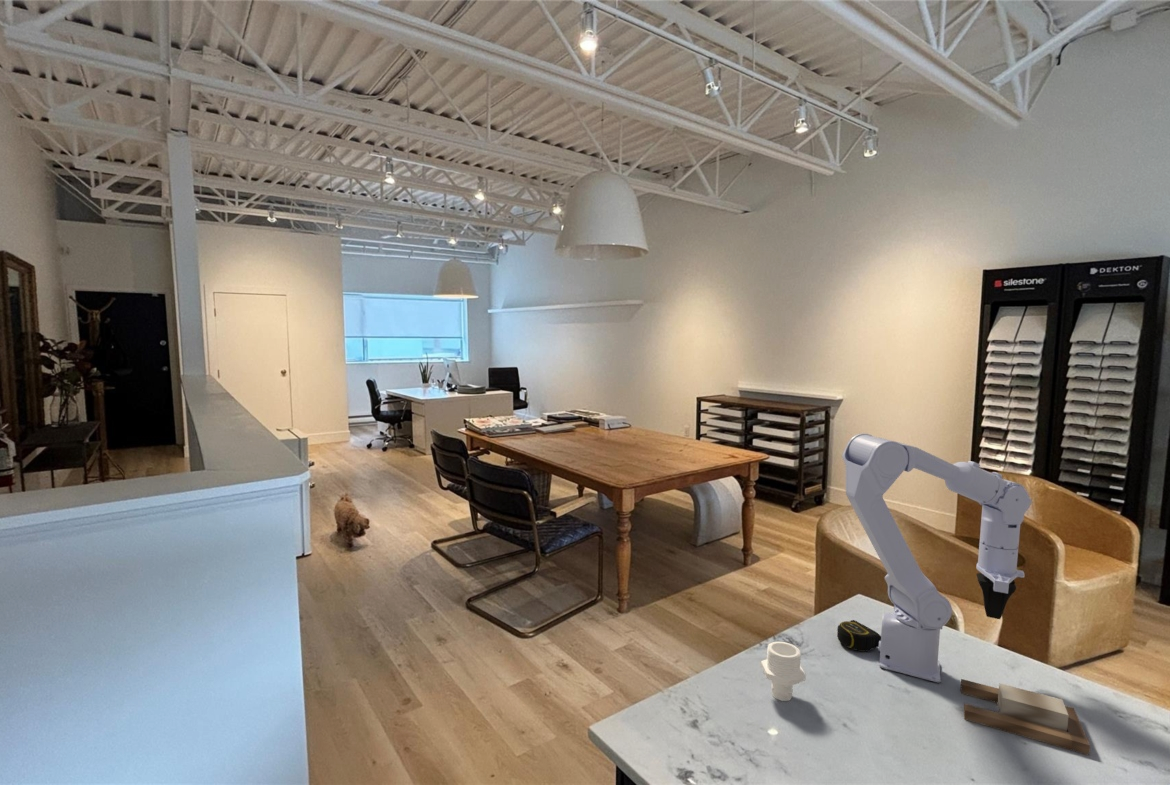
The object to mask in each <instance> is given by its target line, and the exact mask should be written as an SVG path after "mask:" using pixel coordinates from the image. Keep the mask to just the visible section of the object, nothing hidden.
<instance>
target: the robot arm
mask: <svg viewBox="0 0 1170 785" xmlns="http://www.w3.org/2000/svg"><path fill="white" fill-rule="evenodd" d="M841 458H842V460H843V463H844V465H845V495H846V497H847V499H848V501H849V503H850V505H851V507H852V509H853V511H854V512H855V514H856V516H857V518H858V520H859V522H860V523H861V527H862V528H863V530H864V532H865V534H866V536H867V537H868V539H869V541H870V543H871V545H872V547H873V549H874V550H875V552H876V554H877V556H878V558H879V560H880V561H881V563H882V566H883V567H884V569H885V572H886V575H885V576H884V581H885V583H886V584H887V595H888V598H889V600H890V602H891V603H892V604H893V612H886V611H884V612H882V621H881V633H880V636H881V641H879V647H878V652H880V653H879V665H878V666H879V667H880V668H882V669H884V670H889V671H893V672H897V673H900V674H905V675H908V676H911V677H915V678H919V679H923V680H926V681H931V682H934V683H938V684H939V683H941V670H940V668H941V667H940V660H939V648H940V647H939V646H940V634H941V630H943V627H944V626H945V625H947V623H949V620H950V619H951V616H952V614H953V612H952V611H953V610H952V609H953V608H952V604H951V602H950V600H948V598H946V596H944V595H942V594H941V593H940V592H939V591H938V589H937V587H936V586H935V584H934V583H933V581H931V580H930V579H929V578H928V577H927V576H926V575H925V574H924V573H923V571H922V570H921V568H920V567H919V564H918V562H917V561H916V558H915V556H914V555H913V553H912V551H911V550H910V547H909V545H908V543H907V541H906V539H905V538H904V536H903V534H902V532H901V530H900V528H899V526H898V524H897V522H896V520H895V519H894V517H893V514H892V513H891V511H890V509H889V507H888V505H887V503H886V501H885V498H883V496H884V495H885V493H886V492H888V490H889V489H890V488H891V487H892V486H893V484H894V483H895V482H896V481H897V479H898V478H899V477H900V476H901V475H902V474H903V473H904V472H906V473H909V472H911V471H912V470H913V469H916V470H917V471H921V472H924V473H926V474H929V475H932V476H934V477H936V478H939V479H942V480H944V483H945V486H946V487H947V489H948V490H949V491H951V492H953V493H956V494H958V495H960V496H963V497H965V498H967V499H970V500H972V501H974V502H976V503H978V504H979V505H980V506H981V507H982V508H981V517H980V519H981V521H980V529H979V530H980V533H979V534H980V535H979V543H978V546H979V547H978V558H977V563H976V565H975V566H976V567H975V568H976V570H977V571H978V573H976V578H977V582H978V584H979V586H980V588H981V590H982V598H983V599H982V600H983V606H984V607H983V608H984V612H985V615H986V617H987V618H992V619H996V620H1001V619H1002V616H1003V614H1004V611H1005V608H1006V605H1007V604H1008V601H1009V599H1010V597H1011V596H1012V595H1013V594H1014V593H1015V592H1016V590H1017V586H1016V584H1015V580H1016V579H1017V578H1025V572H1024V570H1020V569H1017V567H1018V558H1019V556H1018V555H1019V545H1020V544H1019V543H1020V531H1021V524H1023V522H1024V519H1025V518H1024V517H1025V514H1026V513H1027V511H1029V509H1030V508H1031V505H1032V500H1033V499H1032V498H1030V495H1029V493H1028V490H1027V489H1026V488H1025V486H1023V484H1020V483H1018V482H1015V481H1011V480H1007V479H1005V478H1003V475H1002V474H1001V473H999V472H996V471H992V472H990V471H987V470H985V469H982V468H980V466H981V464H980V463H978V462H976V461H971V460H968V461H957V462H954V463H952V462H948V461H947V460H945V459H943V458H940V457H938V456H936V455H933V454H931V453H929V452H927V451H925V450H923V449H921V448H918V447H917V446H914V445H910V444H906V443H902V442H898V441H894V440H890V439H887V438H882V437H877V436H873V435H872V434H869V433H865V432H864V433H858V434H855V435H853V437H851V438H850V439H849V440H848V442H847V444H846V446H845V448H844V451H843V452H842V455H841Z"/></svg>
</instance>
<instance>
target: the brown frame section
mask: <svg viewBox="0 0 1170 785" xmlns="http://www.w3.org/2000/svg"><path fill="white" fill-rule="evenodd" d="M960 692H961V694H963V695H967V696H970V697H973V698H974V697H975V698H978V699H981V700H982V699H983V700H985V701H989V702H993V703H997V704H998V694H999V687H998V688H997V687H994V686H990V685H988V684H987V685H986V684H982V683H978V682H975V681H971V680H967V679H962V678H961V680H960ZM963 704H964V705H963V717H964V720H966V721H970V722H973V723H976V724H979V725H984V726H987V727H991V728H993V729H997V730H1001V731H1005V732H1008V733H1011V734H1015V735H1017V736H1021V737H1024V738H1028V739H1032V740H1035V741H1039V742H1041V743H1047V744H1050V745H1053V746H1056V747H1059V748H1064V749H1066V750H1070V751H1073V752H1077V753H1081V754H1083V755H1086V756H1090V750H1091V745H1090V742H1089V740H1088V738H1087V735H1086V733H1085V730H1084V728H1083V726H1082V724H1081V722H1080V720H1079V717H1078V715H1077V712H1076V710H1075V708H1074V707H1070V706H1068V705H1065V708H1066V710H1067V713H1068V726H1067V732H1066V731H1062V730H1058V729H1055V728H1051V727H1048V726H1044V725H1040V724H1037V723H1033V722H1030V721H1026V720H1022V719H1019V718H1015V717H1011V716H1008V715H1004V714H1001V713H999V712H997V711H992V710H988V709H986V708H982V707H978V706H975V705H972V704H967V703H963Z"/></svg>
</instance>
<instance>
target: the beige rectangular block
mask: <svg viewBox="0 0 1170 785" xmlns="http://www.w3.org/2000/svg"><path fill="white" fill-rule="evenodd" d="M998 689H999V694H998V703H997V710H998V713H1001V714H1004V715H1008V716H1011V717H1015V718H1019V719H1022V720H1026V721H1030V722H1033V723H1037V724H1040V725H1044V726H1048V727H1051V728H1055V729H1058V730H1062V731H1066V732H1067V726H1068V713H1067V710H1066V708H1065V706H1066V705H1065V703H1064V700H1063V699H1062V698H1057V697H1053V696H1050V695H1046V694H1042V693H1039V692H1034V691H1030V690H1026V689H1023V688H1019V687H1016V686H1011V685H1007V684H1003V683H1001V682H1000V683H999V685H998Z"/></svg>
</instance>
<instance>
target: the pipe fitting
mask: <svg viewBox="0 0 1170 785" xmlns="http://www.w3.org/2000/svg"><path fill="white" fill-rule="evenodd" d="M801 653H802V652H801V650H800V649H799V648H798V647H797V646H796V645H794V644H792V643H789V642H786V641H785V642H784V641H773V642H770V643H769V644H767V653H766V659H763V660H761V662H760V668H761V669H762V672H763V674H764V676H765V679H767V680H770V681H771V695H772V696H773V698H775V699H776V700H778V701H782V702H788V701H790V700H792V697H793V686H794V685H797V684H799V683H802V682H805V681H806V676H807V674H806V673H805V671H804V669H803V667H802V666H801V657H802V656H801Z"/></svg>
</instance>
